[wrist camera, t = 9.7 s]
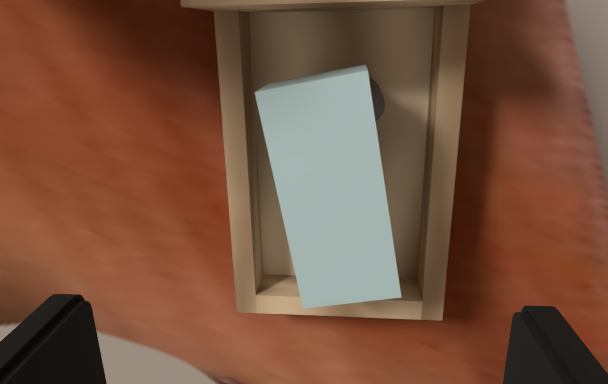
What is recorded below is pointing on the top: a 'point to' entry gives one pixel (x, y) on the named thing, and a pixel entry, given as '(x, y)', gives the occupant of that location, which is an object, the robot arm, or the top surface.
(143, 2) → the top surface
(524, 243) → the top surface
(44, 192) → the top surface
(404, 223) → the wooden drawer
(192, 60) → the top surface
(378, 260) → the block
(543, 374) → the robot arm
